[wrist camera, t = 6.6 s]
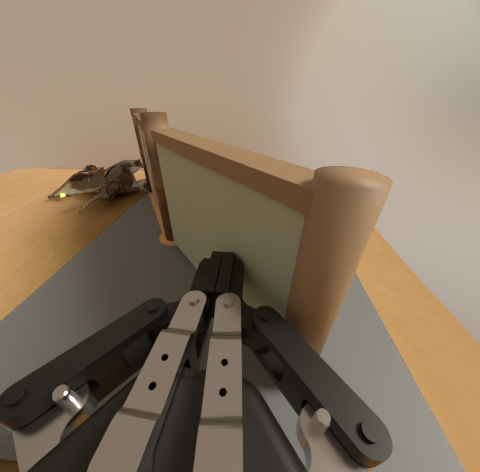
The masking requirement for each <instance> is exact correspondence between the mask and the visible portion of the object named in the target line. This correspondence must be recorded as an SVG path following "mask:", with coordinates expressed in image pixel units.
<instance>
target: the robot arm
mask: <svg viewBox="0 0 480 472" xmlns="http://www.w3.org/2000/svg"><path fill="white" fill-rule="evenodd" d="M243 285H244V264H243V262H242V260H235V252H224V253H223V252H222V251H212V254H211V257H210V258H204V259H203V260H202V261H201V262H200V263H199V265H198V268H197V271H196V274H195V277H194V280H193V282H192V285H191V288H190V291H189V292H188V293H186V294H185V295H184V296H183V297H182V299H181V300H179V301H176V302H171V303H166V302H165V301H164V300H163V299H161V298H153V299H150V300H147V301H146V302H144V303H142V304H141V305H139V306H138V307H136V308H134V309H133V310H131V311H130V312H128V313H126V314H125V315H123V316H122V317H120V318H118V319H117V320H115V321H114V322H112V323H110V324H109V325H107V326H106V327H104V328H102V329H101V330H99V331H98V332H96V333H94V334H93V335H91V336H90V337H88V338H86V339H85V340H83V341H82V342H80V343H78V344H77V345H75V346H74V347H72V348H70V349H69V350H67V351H65V352H64V353H62V354H61V355H59V356H57V357H56V358H54V359H53V360H51V361H49V362H48V363H46V364H45V365H43V366H41V367H40V368H38V369H37V370H35V371H33V372H32V373H30V374H29V375H27V376H25V377H24V378H22V379H21V380H19V381H17V382H16V383H14V384H13V385H11V386H10V387H9V388H7V389H6V390H5V391H4V392H3V393H2V394H1V395H0V423H1V424H2V425H4V426H5V427H6V428H7V429H8V430H10V431H11V432H12V433H13V438H14V444H15V450H16V456H17V462H18V468H19V472H369V471H371V470H372V469H374V468H375V467H377V466H378V465H380V464H381V463H383V462H384V461H386V460H387V459H388V458H389V457H390V456H391V454H392V449H393V444H392V439H391V436H390V433H389V431H388V429H387V427H386V426H385V424H384V423H383V422H382V420H381V419H380V418H379V417H378V416H377V415H376V414H375V413H374V412H373V411H372V410H371V409H370V408H369V407H368V406H367V405H366V404H365V402H364V401H363V400H362V399H361V398H360V397H359V396H358V395H357V394H356V393H355V392H354V391H353V390H352V389H351V388H350V387H349V386H348V385H347V384H346V383H345V382H344V381H343V380H342V379H341V377H340V376H339V375H338V374H337V373H336V372H335V371H334V370H333V369H332V368H331V367H330V366H329V365H328V364H327V363H326V362H325V361H324V360H323V359H322V358H321V357H320V356H319V355H318V354H317V352H316V351H315V350H314V349H313V348H312V347H311V346H310V345H309V344H308V343H307V342H306V341H305V340H304V339H303V338H302V337H301V336H300V335H299V334H298V333H297V332H296V331H295V330H294V329H293V328H292V326H291V325H290V324H289V323H288V322H287V321H286V320H285V319H284V318H283V317H282V316H281V315H280V314H279V313H278V312H277V311H276V310H275V309H274V308H272V307H269V306H260V307H258V308H257V309H256V308H253V307H251V306H249V305H247V304H246V303H245V302H244V301H243ZM211 318H214V323H213V332H212V334H211V337H210V344H209V353H208V361H207V369H205V370H200V371H199V367H200V361H201V357H202V354H203V350H204V347H205V343H206V340H207V336H208V333H209V326H210V321H211ZM242 344H243V345H245V346H248V347H250V348H251V350H252V352H253V353H254V355H255V356H256V358H257V359H258V360H259V362H260V363H261V365H262V366H263V367H264V369H265V370H266V372H267V373H268V374H269V376H270V377H271V379H272V380H273V381H274V383H275V384H276V386H277V387H278V388H279V390H280V391H281V393H282V394H283V395H284V397H285V398H286V400H287V401H288V402H289V404H290V405H291V406H292V408H293V409H294V411H295V412H296V413H297V415H298V416H299V418H298V420H297V423H296V435H297V438H298V441H299V443H300V445H301V447H302V449H303V451H304V455H305V459H306V468H305V466H304V465H303V463H302V461H301V460H300V458H299V456H298V455H297V453H296V451H295V450H294V448H293V446H292V445H291V443H290V441H289V440H288V438H287V436H286V435H285V433H284V431H283V430H282V428H281V426H280V425H279V423H278V421H277V420H276V418H275V416H274V415H273V413H272V411H271V410H270V408H269V406H268V405H267V403H266V401H265V400H264V398H263V396H262V395H261V393H260V392H259V390H258V389H257V388H256V387H255V386H254V385H253V384H252V383H251V382H250V381H249V380H247V379H246V378H244V377H242ZM142 367H143V368H142ZM140 368H142V370H141V372H140V374H139V375H138V376H136V377H135V378H133V379H132V380H131V381H130V382H128V383H127V384H126V385H125V386H124V387H123V388H121V389H120V390H119V391H118V392H117V393H116V394H115V395H113V396H112V397H111V398H110V399H109V400H108V401H107V402H105V403H104V404H103V405H102V406H101V407H100V408H99V409H97V410H96V408H97V404H98V403H99V402H100V401H101V400H103V399H104V398H105V397H106V396H107V395H109V394H110V393H111V392H112V391H114V390H115V389H116V388H117V387H118V386H120V385H121V384H122V383H123V382H125V381H126V380H127V379H128V378H129V377H131V376H132V375H133V374H134V373H136V372H137V371H138V370H139V369H140Z"/></svg>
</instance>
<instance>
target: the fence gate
mask: <svg viewBox="0 0 480 472" xmlns="http://www.w3.org/2000/svg"><path fill="white" fill-rule="evenodd" d="M151 136H152V141H153V142H154V143H156V147H157V153H158V158H159V163H160V169H161V174H162V179H163V185H164V190H165V195H166V200H167V206H168V211H169V216H170V222H171V227H172V232H173V238H174V243H175V244H176V245H177V246H178V247H179V249H180V250H181V251H182V252H183V253H184V255H185V256H186V257H187V258H188V259H189V261H190V262H191V263H192V264H193V265H194V267H195V268H196V269H197V268H198V265H199V263H200V262H201V261H202V260H203V259H204V258H210V257H211V254H212V251H222V252H223V253H224V252H235V260H242V262H243V264H244V285H243V301H244V302H245V303H246V304H247V305H249V306H251V307H253V308H256V309H257V308H258V307H260V306H269V307H272V308H274V309H275V310H276V311H277V312H278V313H279V314H280V315H281V316H282V317H283V318H284V319H285V320H286V321H287V322H288V323H289V324H290V325H291V326H292V328H293V329H294V330H295V331H296V332H297V333H298V334H299V335H300V336H301V337H302V338H303V339H304V340H305V341H306V342H307V343H308V344H309V345H310V346H311V347H312V348H313V349H314V350H315V351H316V352H317V354H318V355H319V356H320V355H321V353H322V350H323V348H324V345H325V343H326V341H327V338H328V336H329V334H330V331H331V329H332V326H333V324H334V322H335V319H336V317H337V315H338V312H339V310H340V308H341V305H342V303H343V300H344V298H345V296H346V293H347V291H348V289H349V286H350V284H351V281H352V279H353V277H354V274H355V272H356V270H357V267H358V265H359V262H360V260H361V258H362V255H363V253H364V251H365V248H366V246H367V244H368V241H369V239H370V236H371V234H372V232H373V229H374V227H375V225H376V222H377V220H378V217H379V215H380V213H381V210H382V208H383V206H384V203H385V201H386V199H387V196H388V194H389V191H390V189H391V187H392V184H393V181H392V180H391V179H390V178H389V177H387V176H385V175H383V174H380V173H378V172H374V171H371V170H367V169H362V168H356V167H346V166H328V167H321V168H318V169H316V170H311V169H308V168H304V167H301V166H297V165H294V164H291V163H288V162H284V161H281V160H277V159H274V158H271V157H267V156H264V155H260V154H257V153H253V152H250V151H247V150H243V149H240V148H237V147H233V146H230V145H227V144H223V143H219V142H216V141H213V140H209V139H206V138H203V137H199V136H196V135H193V134H189V133H186V132H182V131H179V130H176V129H172V128H170V129H154V130H151Z"/></svg>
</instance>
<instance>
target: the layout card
mask: <svg viewBox="0 0 480 472" xmlns="http://www.w3.org/2000/svg"><path fill="white" fill-rule="evenodd" d="M196 271H197V269H196V268H195V267H194V265H193V264H192V263H191V262H190V261H189V259H188V258H187V257H186V256H185V255H184V253H183V252H182V251H181V250H180V249H179V247H178V246H177V245H176V244H175V243H174V241H168V240H167V239H166V237H165V232H164V227H163V222H162V218H161V213H160V210H159V208H158V205H157V203H156V200H155V198H154V195H153V193H152V192H149V191H148V192H147V193H146V194H145V195H144V196H143V197H142V198H140V199H139V200H138V201H137V202H136V203H135V204H134V205H133V206H131V207H130V208H129V209H128V210H127V211H126V212H125V213H123V214H122V215H121V216H120V217H119V218H118V219H117V220H115V221H114V222H113V223H112V224H111V225H110V226H109V227H108V228H106V229H105V230H104V231H103V232H102V233H101V234H100V235H98V236H97V237H96V238H95V239H94V240H93V241H92V242H90V243H89V244H88V245H87V246H86V247H85V248H84V249H83V250H81V251H80V252H79V253H78V254H77V255H76V256H75V257H73V258H72V259H71V260H70V261H69V262H68V263H67V264H65V265H64V266H63V267H62V268H61V269H60V270H59V271H58V272H56V273H55V274H54V275H53V276H52V277H51V278H50V279H48V280H47V281H46V282H45V283H44V284H43V285H42V286H40V287H39V288H38V289H37V290H36V291H35V292H34V293H32V294H31V295H30V296H29V297H28V298H27V299H26V300H25V301H23V302H22V303H21V304H20V305H19V306H18V307H17V308H15V309H14V310H13V311H12V312H11V313H10V314H9V315H7V316H6V317H5V318H4V319H3V320H2V321H1V322H0V395H1V394H2V393H3V392H4V391H5V390H6V389H7V388H9V387H10V386H11V385H13V384H14V383H16V382H17V381H19V380H21V379H22V378H24V377H25V376H27V375H29V374H30V373H32V372H33V371H35V370H37V369H38V368H40V367H41V366H43V365H45V364H46V363H48V362H49V361H51V360H53V359H54V358H56V357H57V356H59V355H61V354H62V353H64V352H65V351H67V350H69V349H70V348H72V347H74V346H75V345H77V344H78V343H80V342H82V341H83V340H85V339H86V338H88V337H90V336H91V335H93V334H94V333H96V332H98V331H99V330H101V329H102V328H104V327H106V326H107V325H109V324H110V323H112V322H114V321H115V320H117V319H118V318H120V317H122V316H123V315H125V314H126V313H128V312H130V311H131V310H133V309H134V308H136V307H138V306H139V305H141V304H142V303H144V302H146V301H147V300H150V299H153V298H161V299H163V300H164V301H165V302H166V303H171V302H176V301H179V300H181V299H182V297H183V296H184V295H185V294H186V293H188V292H189V291H190V288H191V285H192V282H193V280H194V277H195V274H196ZM213 323H214V318H211V321H210V326H209V333H208V336H207V340H206V343H205V347H204V350H203V354H202V357H201V361H200V367H199V371H200V370H205V369H207V361H208V353H209V344H210V337H211V334H212V332H213ZM320 357H321V358H322V359H323V360H324V361H325V362H326V363H327V364H328V365H329V366H330V367H331V368H332V369H333V370H334V371H335V372H336V373H337V374H338V375H339V376H340V377H341V379H342V380H343V381H344V382H345V383H346V384H347V385H348V386H349V387H350V388H351V389H352V390H353V391H354V392H355V393H356V394H357V395H358V396H359V397H360V398H361V399H362V400H363V401H364V402H365V404H366V405H367V406H368V407H369V408H370V409H371V410H372V411H373V412H374V413H375V414H376V415H377V416H378V417H379V418H380V419H381V420H382V422H383V423H384V424H385V426H386V427H387V429H388V431H389V433H390V436H391V439H392V444H393V449H392V454H391V456H390V457H389V458H388V459H387V460H386V461H384V462H383V463H381V464H380V465H378V466H377V467H375V468H374V469H372V470H371V471H369V472H465V470H464V468H463V467H462V465H461V463H460V461H459V459H458V457H457V456H456V454H455V452H454V450H453V448H452V447H451V445H450V443H449V441H448V439H447V438H446V436H445V434H444V432H443V430H442V429H441V427H440V425H439V423H438V421H437V420H436V418H435V416H434V414H433V412H432V410H431V409H430V407H429V405H428V403H427V401H426V400H425V398H424V396H423V394H422V392H421V391H420V389H419V387H418V385H417V383H416V382H415V380H414V378H413V376H412V374H411V373H410V371H409V369H408V367H407V365H406V364H405V362H404V360H403V358H402V356H401V354H400V353H399V351H398V349H397V347H396V345H395V344H394V342H393V340H392V338H391V336H390V335H389V333H388V331H387V329H386V327H385V326H384V324H383V322H382V320H381V318H380V317H379V315H378V313H377V311H376V309H375V307H374V306H373V304H372V302H371V300H370V298H369V297H368V295H367V293H366V291H365V289H364V288H363V286H362V284H361V282H360V280H359V279H358V277H357V275H356V273H355V274H354V277H353V279H352V281H351V284H350V286H349V289H348V291H347V293H346V296H345V298H344V300H343V303H342V305H341V308H340V310H339V312H338V315H337V317H336V319H335V322H334V324H333V326H332V329H331V331H330V334H329V336H328V338H327V341H326V343H325V345H324V348H323V350H322V353H321V355H320ZM142 368H143V367H142ZM142 368H140V369H139V370H138V371H137V372H136V373H134V374H133V375H132V376H131V377H129V378H128V379H127V380H126V381H125V382H123V383H122V384H121V385H120V386H118V387H117V388H116V389H115V390H114V391H112V392H111V393H110V394H109V395H107V396H106V397H105V398H104V399H103V400H101V401H100V402H99V403H98V404H97V408H96V410H97V409H99V408H100V407H101V406H102V405H103V404H104V403H105V402H107V401H108V400H109V399H110V398H111V397H112V396H113V395H115V394H116V393H117V392H118V391H119V390H120V389H121V388H123V387H124V386H125V385H126V384H127V383H128V382H130V381H131V380H132V379H133V378H135V377H136V376H138V375H139V374H140V372H141V370H142ZM242 377H244V378H246V379H247V380H249V381H250V382H251V383H252V384H253V385H254V386H255V387H256V388H257V389H258V390H259V392H260V393H261V395H262V396H263V398H264V400H265V401H266V403H267V405H268V406H269V408H270V410H271V411H272V413H273V415H274V416H275V418H276V420H277V421H278V423H279V425H280V426H281V428H282V430H283V431H284V433H285V435H286V436H287V438H288V440H289V441H290V443H291V445H292V446H293V448H294V450H295V451H296V453H297V455H298V456H299V458H300V460H301V461H302V463H303V465H304V466H305V468H306V459H305V455H304V451H303V449H302V447H301V445H300V443H299V441H298V438H297V435H296V423H297V420H298V418H299V416H298V415H297V413H296V412H295V411H294V409H293V408H292V406H291V405H290V404H289V402H288V401H287V400H286V398H285V397H284V395H283V394H282V393H281V391H280V390H279V388H278V387H277V386H276V384H275V383H274V381H273V380H272V379H271V377H270V376H269V374H268V373H267V372H266V370H265V369H264V367H263V366H262V365H261V363H260V362H259V360H258V359H257V358H256V356H255V355H254V353H253V352H252V350H251V348H250V347H248V346H245V345H243V344H242ZM0 460H7V461H17V456H16V450H15V444H14V438H13V433H12V432H11V431H10V430H8V429H7V428H6V427H5V426H4V425H2V424H1V423H0Z"/></svg>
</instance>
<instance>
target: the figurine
mask: <svg viewBox="0 0 480 472" xmlns="http://www.w3.org/2000/svg"><path fill="white" fill-rule="evenodd" d="M117 164H118V163H117ZM117 164H115V165H113V166H111V167H109V168H108V169H106V170H104V168H103V167H102V168H96V166H94V165H89V166H86V167H85V169H83V170H82V171H79V172H78V173H76V174H74V175H73V176H71V177H70V178H69V179H68V180H67V181H66V182H65V183H64V184H63V185H62V186H61V187H60V188H59V189H57V190H56V191H55V192H54V193H53V194H52V195H50V196H48V199H50V198H51V197H59V196H60V198H63V197H65V196H72V197H75V196H76V195H80V194H84V193H95V194H96V196H95V197H93V198H92V199H90V200H89V201H88V202H87V203H84V205H83V203H82V202H81V201H80V200H78V199H77V198H76V197H75V198H76V199H77V200H78V201H79V202H81V203H82V205H83V206H82V207H81V209H80V211H81V210H82V211H83V210H84V208H85V207H87V206H88V205H89V204H91V203H92V202H94V201H96V200H98V199H99V198H103V199H104V200H106V199H108V200H112V199H114V198H115V197H116V194H125V193H130V192H138V191H140V190H142V191H143V190H144V191H145V190H147V191H149V187H148V184H147V180H146V179H142V180H138V181H136V180H135V177H134V175H133V174H134V173H135V172H136V171H138V170H139V168H140V167H141V168H143V163H142V159H141V160H140V159H139V160H123V161H120V162H119V164H118V165H117ZM80 211H79V212H80Z"/></svg>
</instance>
